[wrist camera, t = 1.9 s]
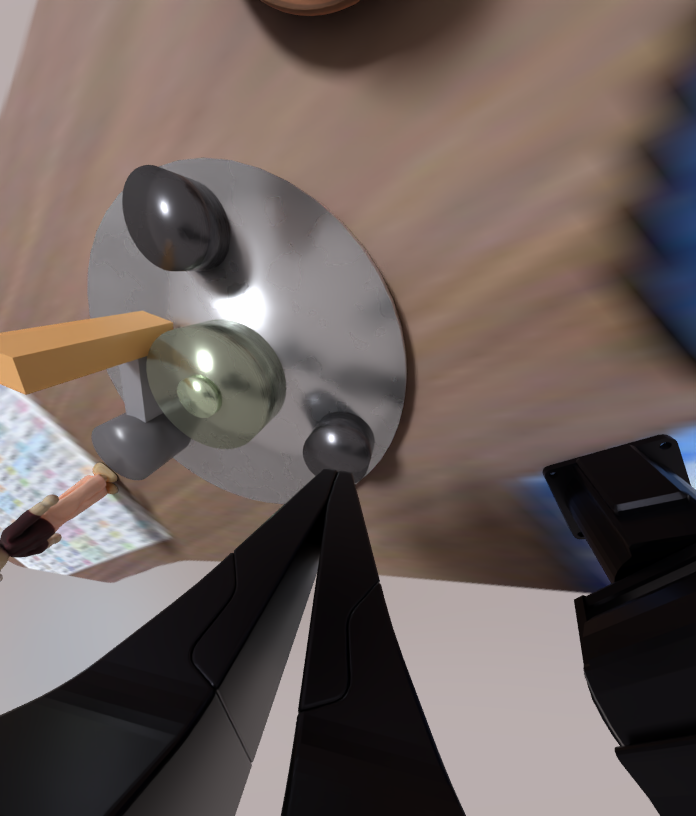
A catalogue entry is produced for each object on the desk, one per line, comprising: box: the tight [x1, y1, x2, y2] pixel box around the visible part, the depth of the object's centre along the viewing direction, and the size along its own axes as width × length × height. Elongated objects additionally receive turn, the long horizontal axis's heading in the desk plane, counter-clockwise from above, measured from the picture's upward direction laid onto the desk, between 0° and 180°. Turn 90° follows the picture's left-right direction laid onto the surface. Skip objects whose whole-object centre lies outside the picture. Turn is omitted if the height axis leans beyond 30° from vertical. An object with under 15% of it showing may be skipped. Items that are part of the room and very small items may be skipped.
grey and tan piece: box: [0, 311, 191, 480], centre depth 18 cm, size 12×5×8 cm, turn 164°
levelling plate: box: [88, 158, 407, 504], centre depth 19 cm, size 24×24×5 cm
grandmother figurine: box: [0, 463, 118, 581], centre depth 27 cm, size 8×4×13 cm, turn 164°
